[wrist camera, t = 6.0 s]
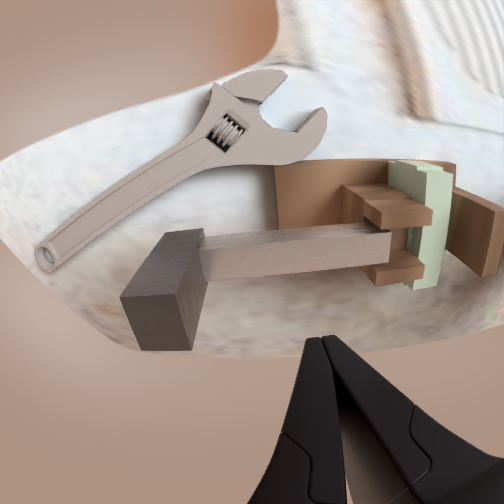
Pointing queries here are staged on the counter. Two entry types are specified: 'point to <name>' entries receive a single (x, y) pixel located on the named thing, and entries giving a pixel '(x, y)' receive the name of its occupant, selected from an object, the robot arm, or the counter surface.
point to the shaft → (233, 271)
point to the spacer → (436, 198)
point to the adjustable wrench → (194, 159)
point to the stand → (386, 213)
